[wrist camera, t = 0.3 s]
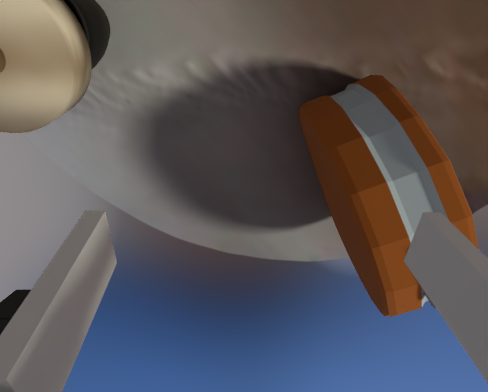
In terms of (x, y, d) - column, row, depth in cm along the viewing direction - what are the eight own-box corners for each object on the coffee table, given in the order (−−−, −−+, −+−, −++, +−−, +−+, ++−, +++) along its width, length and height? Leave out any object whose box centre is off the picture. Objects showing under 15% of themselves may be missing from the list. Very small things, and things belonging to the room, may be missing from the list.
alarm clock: (400, 205, 46) (524, 348, 27) (334, 228, 48) (408, 379, 29) (371, 54, 36) (545, 112, 16) (288, 89, 37) (356, 181, 18)
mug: (1, 42, 33) (-72, 54, 25) (74, -45, 30) (16, -64, 22) (68, 104, 37) (23, 132, 29) (140, 32, 33) (112, 41, 25)
